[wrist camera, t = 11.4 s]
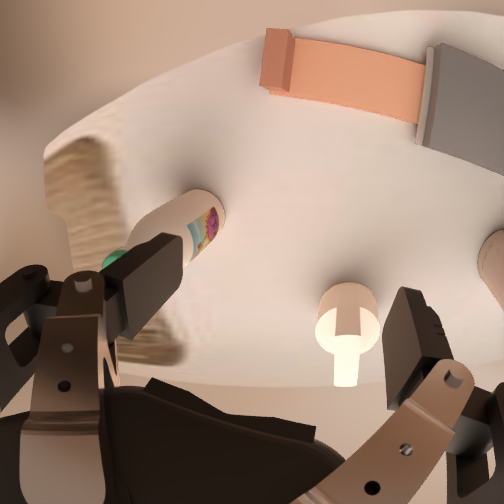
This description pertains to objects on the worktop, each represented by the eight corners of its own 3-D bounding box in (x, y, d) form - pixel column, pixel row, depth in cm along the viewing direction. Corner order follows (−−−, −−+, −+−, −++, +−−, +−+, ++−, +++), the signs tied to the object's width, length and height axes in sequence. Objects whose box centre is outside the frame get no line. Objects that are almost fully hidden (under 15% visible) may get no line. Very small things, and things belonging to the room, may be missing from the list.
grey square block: (505, 83, 24) (522, 81, 20) (492, 171, 30) (509, 178, 26) (424, 49, 27) (435, 40, 22) (412, 142, 33) (422, 145, 28)
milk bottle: (170, 215, 46) (81, 275, 29) (195, 177, 42) (102, 223, 25) (207, 248, 47) (134, 325, 29) (236, 212, 43) (164, 280, 25)
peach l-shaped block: (436, 70, 27) (452, 63, 22) (429, 128, 31) (444, 129, 26) (277, 37, 31) (267, 24, 26) (270, 94, 35) (258, 89, 30)
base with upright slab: (375, 330, 45) (378, 386, 34) (319, 331, 47) (311, 386, 37) (378, 281, 41) (386, 333, 31) (317, 282, 44) (308, 334, 34)
